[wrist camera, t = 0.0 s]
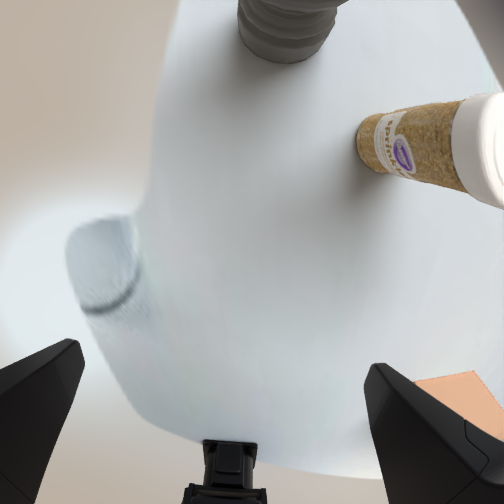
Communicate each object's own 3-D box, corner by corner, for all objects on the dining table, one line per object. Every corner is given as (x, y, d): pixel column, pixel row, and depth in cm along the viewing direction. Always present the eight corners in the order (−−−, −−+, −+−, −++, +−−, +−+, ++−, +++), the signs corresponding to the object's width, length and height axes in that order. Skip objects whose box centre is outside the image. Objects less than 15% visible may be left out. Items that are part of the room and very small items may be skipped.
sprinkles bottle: (342, 135, 19) (461, 125, 7) (385, 102, 18) (518, 73, 6) (377, 185, 21) (505, 237, 8) (418, 152, 20) (555, 174, 7)
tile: (467, 382, 28) (505, 438, 18) (408, 393, 28) (443, 464, 18) (473, 370, 27) (515, 426, 17) (414, 380, 27) (454, 453, 17)
